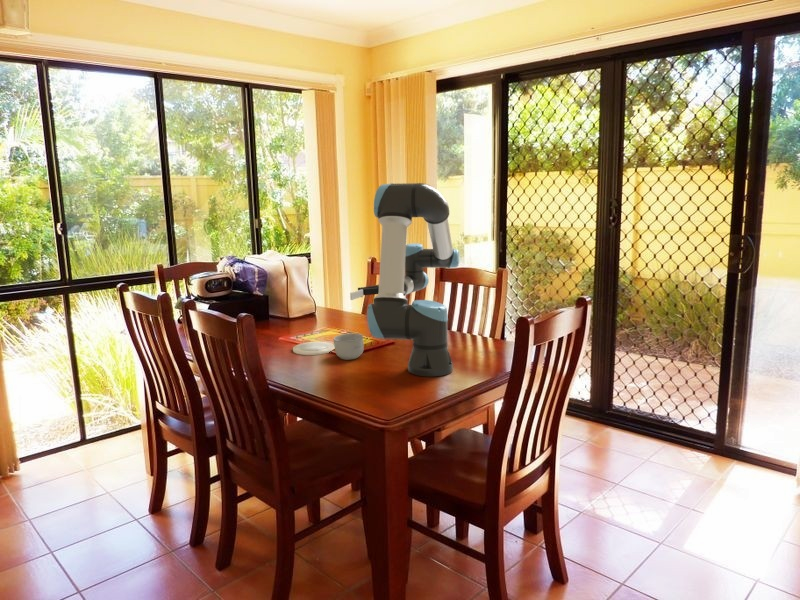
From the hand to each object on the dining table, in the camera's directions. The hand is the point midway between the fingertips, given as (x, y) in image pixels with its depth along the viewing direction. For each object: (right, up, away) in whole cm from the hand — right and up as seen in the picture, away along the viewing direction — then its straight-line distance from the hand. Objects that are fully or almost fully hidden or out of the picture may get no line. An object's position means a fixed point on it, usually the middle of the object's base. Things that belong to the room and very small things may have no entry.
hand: (364, 298), depth 220 cm
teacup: (-5, -21, -2) cm, 22 cm away
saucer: (-20, -19, +8) cm, 29 cm away
